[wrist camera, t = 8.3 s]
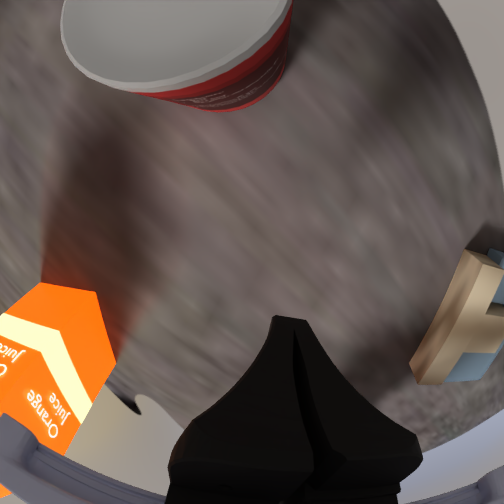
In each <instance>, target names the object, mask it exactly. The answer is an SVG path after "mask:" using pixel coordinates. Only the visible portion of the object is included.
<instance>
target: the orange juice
mask: <svg viewBox="0 0 504 504" xmlns="http://www.w3.org/2000/svg"><path fill="white" fill-rule="evenodd" d="M115 364H116V361H115V358H114V355H113V352H112V349H111V346H110V343H109V339H108V336H107V333H106V329H105V326H104V322H103V319H102V315H101V311H100V308H99V304H98V300H97V296H96V292H92V291H86V290H80V289H74V288H68V287H62V286H57V285H51V284H46V283H39V284H38V285H37V286H36V287H34V288H33V289H32V290H31V291H30V292H28V293H27V294H26V295H25V296H24V297H22V298H21V299H20V300H19V301H18V302H17V303H15V304H14V305H13V306H12V307H11V308H10V309H8V310H7V311H6V312H5V313H3V314H2V315H1V316H0V416H1V415H2V414H3V413H6V414H8V415H9V416H11V417H12V418H14V419H15V420H17V421H18V422H19V423H21V424H23V425H24V426H25V427H27V428H28V429H29V430H30V431H31V432H32V433H33V434H34V435H35V436H36V437H37V439H38V441H39V442H40V443H41V444H43V445H45V446H47V447H48V448H50V449H52V450H54V451H55V452H57V453H59V454H61V455H63V456H64V454H65V452H66V450H67V449H68V447H69V445H70V443H71V441H72V439H73V437H74V435H75V433H76V432H77V430H78V428H79V426H80V424H82V422H83V420H84V419H85V417H86V415H87V413H88V411H89V410H90V408H91V406H92V403H93V401H94V400H95V398H96V396H97V395H98V393H99V391H100V389H101V388H102V386H103V384H104V383H105V381H106V379H107V378H108V376H109V374H110V373H111V371H112V369H113V368H114V366H115ZM9 494H11V492H10V491H9V490H7V489H6V488H5V487H4V486H2V485H1V484H0V498H1V497H4V496H6V495H9Z"/></svg>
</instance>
